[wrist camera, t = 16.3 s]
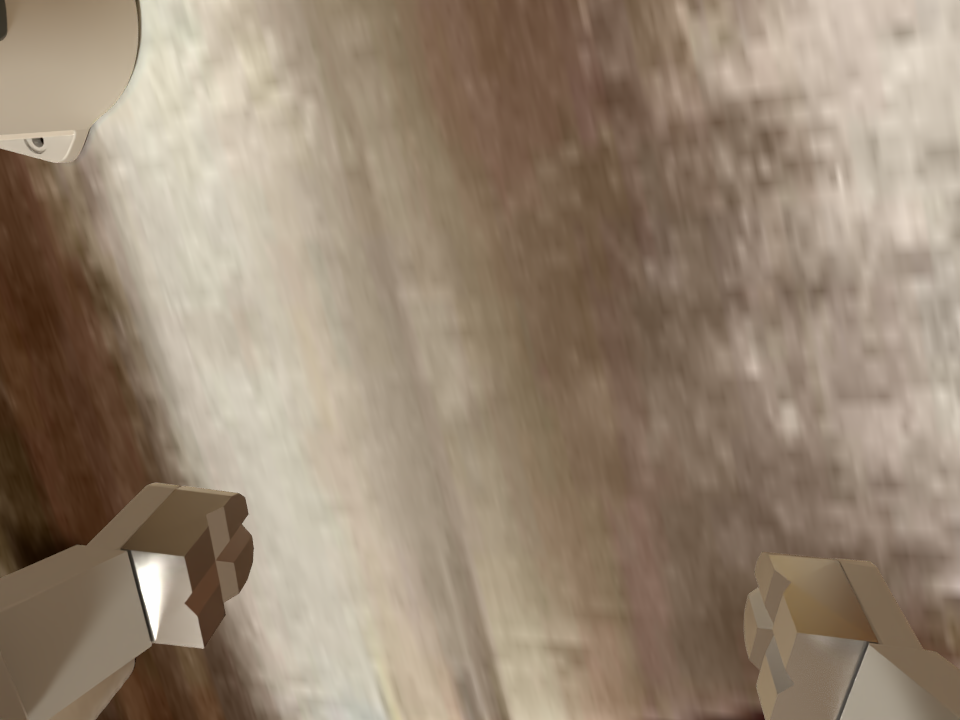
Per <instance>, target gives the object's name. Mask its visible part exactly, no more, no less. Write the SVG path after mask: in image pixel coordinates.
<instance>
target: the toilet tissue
mask: <svg viewBox="0 0 960 720" xmlns="http://www.w3.org/2000/svg"><path fill="white" fill-rule="evenodd" d="M134 665H135V658H134V659H132V660H131V661H130V662H128V663H127V664H125V665H124V666H123V667H121V668H120V669H118V670H117V671H116V672H114V673H113V674H111V675H110V676H109V677H107V678H106V679H104V680H103V681H102V682H100V683H99V684H97V685H96V686H95V687H93V688H92V689H90V690H89V691H88V692H86V693H85V694H83V695H82V696H81V697H79V698H78V699H76V700H75V701H74V702H72V703H71V704H69V705H68V706H66V707H65V708H64V709H62V710H61V711H59V712H58V713H57V714H55V715H54V716H52V717H51V718H50V719H48V720H95V719H96V718H97V717H98V715H99V714H100V713H101V712H102V710H103V709H104V708H105V707H106V706H107V705H108V704H109V702H110V700H111V699H112V697H113V696H114V695H115V694H116V692H117V691H118V690H119V689H120V688H121V687H122V685H123V684H124V682H125V681H126V680H127V679H128V677H129V676H130V674H131V673H132V671H133V668H134Z"/></svg>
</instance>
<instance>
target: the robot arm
mask: <svg viewBox="0 0 960 720" xmlns="http://www.w3.org/2000/svg"><path fill="white" fill-rule="evenodd" d="M137 47H138V16H137V8H136V2H135V0H0V148H1V149H5V150H9V151H12V152H16V153H20V154H24V155H27V156H31V157H35V158H38V159H42V160H46V161H49V162H54V163H69V162H72V161H74V160H75V159H76V158H77V157H78V156H79V154H80V152H81V150H82V148H83V145H84V143H85V140H86V137H87V135H88V132H89V129H90V127H91V126H92V125H93V124H94V123H95V122H96V121H97V120H98V119H99V118H100V117H101V116H102V115H103V114H105V113H106V112H107V111H108V110H109V109H110V108H111V107H112V106H113V105H114V104H115V103H116V102H117V100H118V99H119V98H120V96H121V95H122V93H123V92H124V90H125V88H126V86H127V84H128V82H129V80H130V77H131V74H132V72H133V68H134V64H135V60H136V55H137ZM41 137H42V138H43V140H44V144H43V143H42V142H41V140H40V138H41ZM247 515H248V509H247V504H246V499H245V497H244V496H242V495H241V494H239V493H234V492H227V491H219V490H212V489H204V488H197V487H190V486H179V485H171V484H164V483H153V484H150V485H147V486H146V487H145V488H144V489H143V490H142V491H141V492H140V493H139V494H138V495H137V496H136V497H135V498H134V499H133V500H132V501H131V502H130V503H129V504H128V505H127V506H126V507H125V508H124V509H123V510H122V511H121V512H120V513H119V514H118V515H117V516H116V517H114V518H113V519H112V520H111V521H110V522H109V523H108V524H107V525H106V526H105V527H104V528H103V529H102V530H101V531H100V532H99V533H98V534H97V535H96V536H95V537H94V538H93V539H92V540H91V541H90V542H89V543H88V544H87V545H86V546H84V545H75V546H73V547H71V548H68V549H66V550H64V551H62V552H59V553H57V554H55V555H52V556H50V557H48V558H46V559H43V560H41V561H39V562H36V563H34V564H32V565H29V566H27V567H25V568H23V569H20V570H18V571H16V572H13V573H11V574H9V575H7V576H4V577H2V578H0V720H48V719H50V718H51V717H52V716H54V715H55V714H57V713H58V712H59V711H61V710H62V709H64V708H65V707H66V706H68V705H69V704H71V703H72V702H74V701H75V700H76V699H78V698H79V697H81V696H82V695H83V694H85V693H86V692H88V691H89V690H90V689H92V688H93V687H95V686H96V685H97V684H99V683H100V682H102V681H103V680H104V679H106V678H107V677H109V676H110V675H111V674H113V673H114V672H116V671H117V670H118V669H120V668H121V667H123V666H124V665H125V664H127V663H128V662H130V661H131V660H132V659H134V658H135V657H137V656H138V655H139V654H141V653H142V652H144V651H145V650H146V649H148V648H149V647H151V646H152V643H160V644H169V645H178V646H187V647H196V648H205V647H206V645H207V643H208V642H209V640H210V639H211V637H212V636H213V634H214V632H215V631H216V629H217V628H218V626H219V625H220V623H221V621H222V620H223V618H224V617H225V615H226V614H225V609H224V602H226V601H227V600H229V599H231V598H232V597H234V596H236V595H237V594H239V593H240V591H241V589H242V588H243V586H244V584H245V583H246V581H247V579H248V576H249V573H250V569H251V566H252V563H253V550H254V547H253V540H252V535H251V534H250V533H249V532H248V531H247V530H246V529H245V527H244V526H243V525H242V523H243V521H244V520H245V518H246V517H247ZM754 573H755V576H756V580H757V583H758V586H759V587H758V588H756V589H755V590H754V591H752V592H751V593H750V594H748V598H747V602H746V607H745V611H744V637H745V645H746V649H747V653H748V657H749V660H750V661H751V662H752V663H753V664H754V665H755V666H756V667H757V668H758V669H759V670H760V674H759V677H758V681H757V685H756V688H757V691H758V695H759V698H760V702H761V706H762V709H763V713H764V717H765V720H960V669H958V668H957V667H956V666H954V665H953V664H952V663H950V662H949V661H948V660H946V659H945V658H944V657H942V656H941V655H939V654H938V653H937V652H935V651H929V650H924V649H923V648H922V646H921V644H920V642H919V641H918V639H917V637H916V635H915V634H914V632H913V630H912V628H911V627H910V625H909V623H908V621H907V620H906V618H905V616H904V614H903V612H902V611H901V609H900V607H899V605H898V604H897V602H896V600H895V598H894V597H893V595H892V593H891V591H890V590H889V588H888V586H887V584H886V583H885V581H884V579H883V577H882V576H881V574H880V572H879V570H878V568H877V567H876V566H875V565H874V564H873V563H871V562H870V561H861V560H850V559H839V558H833V559H829V558H820V557H810V556H801V555H791V554H782V553H772V552H763V551H762V553H761V554H760V556H759V558H758V560H757V563H756V567H755V570H754Z"/></svg>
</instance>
